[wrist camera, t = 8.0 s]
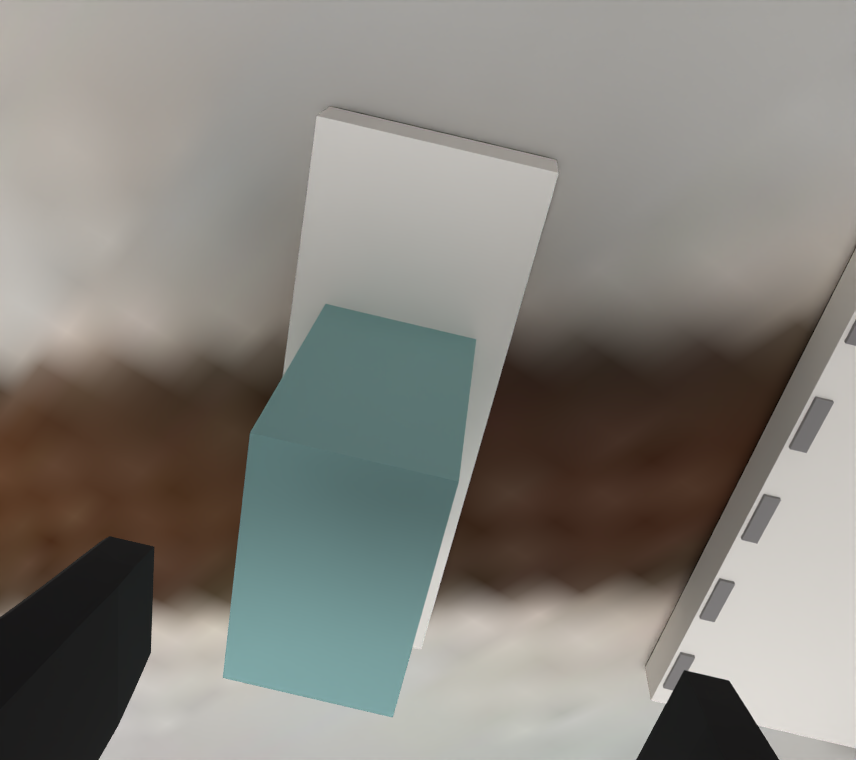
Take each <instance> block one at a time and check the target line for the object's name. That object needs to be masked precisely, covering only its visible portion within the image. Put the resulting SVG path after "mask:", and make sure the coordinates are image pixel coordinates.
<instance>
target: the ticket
mask: <svg viewBox="0 0 856 760" xmlns="http://www.w3.org/2000/svg"><path fill="white" fill-rule="evenodd" d="M645 670H646V675H647V681H648V687H649V692H650V698H651V701H655V702H660V703H664V704H666V703H667V701H668V699H669V697H670V695H671V694H672V692H673V690H674V688H675V686H676V684H677V682H678V680H679V679H680V677H681V675H682V673H683V671H684V670H686V671H690V672H695V673H699V674H703V675H708V676H712V677H716V678H721V679H725V680H729V681H730V683H731V684H732V686H733V687H734V689H735V690H736V692H737V693H738V695H739V697H740V698H741V700H742V701H743V703H744V704H745V706H746V708H747V709H748V711H749V712H750V714H751V716H752V717H753V719H754V720H755V722H756V724H757V725H758V726H762V727H767V728H771V729H775V730H779V731H784V732H788V733H792V734H796V735H801V736H805V737H809V738H814V739H818V740H822V741H826V742H831V743H835V744H839V745H844V746H848V747H852V748H856V249H855V251H854V253H853V255H852V257H851V259H850V261H849V263H848V265H847V267H846V269H845V271H844V273H843V275H842V277H841V279H840V281H839V283H838V285H837V287H836V289H835V291H834V293H833V295H832V297H831V299H830V301H829V303H828V305H827V307H826V309H825V311H824V313H823V315H822V317H821V319H820V320H819V322H818V324H817V326H816V328H815V330H814V332H813V334H812V336H811V338H810V340H809V342H808V344H807V346H806V348H805V350H804V352H803V354H802V356H801V358H800V360H799V362H798V364H797V366H796V368H795V370H794V372H793V374H792V376H791V378H790V380H789V382H788V384H787V386H786V388H785V390H784V392H783V394H782V396H781V398H780V400H779V402H778V404H777V406H776V408H775V410H774V412H773V414H772V416H771V418H770V420H769V422H768V424H767V426H766V428H765V430H764V432H763V434H762V436H761V438H760V440H759V442H758V444H757V446H756V448H755V450H754V452H753V454H752V456H751V458H750V460H749V462H748V464H747V466H746V468H745V470H744V472H743V474H742V476H741V478H740V480H739V482H738V484H737V486H736V488H735V490H734V492H733V494H732V496H731V498H730V500H729V502H728V504H727V506H726V508H725V510H724V512H723V514H722V516H721V518H720V520H719V522H718V524H717V525H716V527H715V529H714V531H713V533H712V535H711V537H710V539H709V541H708V543H707V545H706V547H705V549H704V551H703V553H702V555H701V557H700V559H699V561H698V563H697V565H696V567H695V569H694V571H693V573H692V575H691V577H690V579H689V581H688V583H687V585H686V587H685V589H684V591H683V593H682V595H681V597H680V599H679V601H678V603H677V605H676V607H675V609H674V611H673V613H672V615H671V617H670V619H669V621H668V623H667V625H666V627H665V629H664V631H663V633H662V635H661V637H660V639H659V641H658V643H657V645H656V647H655V649H654V651H653V653H652V655H651V657H650V659H649V661H648V663H647V665H646V667H645Z"/></svg>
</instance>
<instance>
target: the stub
mask: <svg viewBox="0 0 856 760" xmlns="http://www.w3.org/2000/svg"><path fill="white" fill-rule="evenodd" d="M558 174H559V171H558V165H557V160H555V159H550V158H546V157H542V156H538V155H533V154H529V153H525V152H521V151H516V150H512V149H508V148H504V147H500V146H495V145H491V144H487V143H483V142H478V141H474V140H470V139H466V138H461V137H457V136H453V135H449V134H445V133H440V132H436V131H432V130H428V129H423V128H419V127H415V126H411V125H406V124H402V123H398V122H394V121H390V120H385V119H381V118H377V117H373V116H368V115H364V114H360V113H356V112H351V111H347V110H343V109H339V108H334V107H328V108H327V109H325V110H324V111H323V112H321V113H320V114H318V115H317V117H316V125H315V132H314V140H313V148H312V155H311V163H310V171H309V178H308V186H307V194H306V201H305V209H304V217H303V224H302V232H301V240H300V247H299V255H298V263H297V270H296V278H295V286H294V293H293V301H292V309H291V316H290V324H289V332H288V340H287V347H286V355H285V363H284V370H283V377H282V379H281V381H280V382H279V384H278V386H277V388H276V389H275V391H274V393H273V394H272V396H271V398H270V400H269V401H268V403H267V405H266V406H265V408H264V410H263V412H262V413H261V415H260V417H259V418H258V420H257V422H256V423H255V425H254V427H253V429H252V430H251V432H250V438H249V447H248V456H247V465H246V474H245V483H244V492H243V501H242V510H241V519H240V528H239V537H238V546H237V555H236V564H235V573H234V582H233V591H232V600H231V609H230V618H229V627H228V636H227V645H226V654H225V663H224V672H223V678H226V679H230V680H235V681H239V682H243V683H247V684H252V685H256V686H260V687H265V688H269V689H273V690H277V691H282V692H286V693H290V694H295V695H299V696H303V697H307V698H312V699H316V700H320V701H325V702H329V703H333V704H337V705H342V706H346V707H350V708H355V709H359V710H363V711H367V712H372V713H376V714H380V715H385V716H389V717H393V714H394V711H395V707H396V704H397V700H398V697H399V693H400V690H401V686H402V682H403V679H404V675H405V672H406V668H407V665H408V661H409V658H410V654H411V650H412V648H417V649H421V648H422V645H423V641H424V638H425V634H426V631H427V627H428V624H429V620H430V617H431V613H432V610H433V606H434V603H435V600H436V596H437V593H438V589H439V586H440V582H441V579H442V575H443V572H444V568H445V565H446V562H447V558H448V555H449V551H450V548H451V544H452V541H453V537H454V534H455V530H456V527H457V524H458V520H459V517H460V513H461V510H462V506H463V503H464V499H465V496H466V492H467V489H468V486H469V482H470V479H471V475H472V472H473V468H474V465H475V461H476V458H477V454H478V451H479V448H480V444H481V441H482V437H483V434H484V430H485V427H486V423H487V420H488V416H489V413H490V409H491V406H492V403H493V399H494V396H495V392H496V389H497V385H498V382H499V378H500V375H501V371H502V368H503V365H504V361H505V358H506V354H507V351H508V347H509V344H510V340H511V337H512V333H513V330H514V327H515V323H516V320H517V316H518V313H519V309H520V306H521V302H522V299H523V295H524V292H525V289H526V285H527V282H528V278H529V275H530V271H531V268H532V264H533V261H534V257H535V254H536V250H537V247H538V244H539V240H540V237H541V233H542V230H543V226H544V223H545V219H546V216H547V212H548V209H549V206H550V202H551V199H552V195H553V192H554V188H555V185H556V181H557V178H558Z"/></svg>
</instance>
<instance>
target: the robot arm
mask: <svg viewBox="0 0 856 760" xmlns="http://www.w3.org/2000/svg"><path fill="white" fill-rule="evenodd" d="M153 570H154V547H153V546H149V545H145V544H140V543H136V542H132V541H128V540H123V539H119V538H115V537H108V538H106V539H104V540H102V541H101V542H100V543H98V544H97V545H96V546H94V547H93V548H92V549H90V550H89V551H88V552H86V553H85V554H84V555H83V556H81V557H80V558H79V559H77V560H76V561H75V562H73V563H72V564H71V565H70V566H68V567H67V568H66V569H64V570H63V571H62V572H60V573H59V574H58V575H56V576H55V577H54V578H52V579H51V580H50V581H49V582H47V583H46V584H45V585H43V586H42V587H41V588H39V589H38V590H37V591H35V592H34V593H32V594H31V595H30V596H28V597H27V598H26V599H24V600H23V601H22V602H20V603H19V604H18V605H16V606H15V607H14V608H12V609H11V610H9V611H8V612H7V613H5V614H4V615H2V616H1V617H0V760H99V758H100V756H101V754H102V753H103V751H104V749H105V748H106V746H107V744H108V742H109V741H110V739H111V737H112V735H113V734H114V732H115V730H116V728H117V727H118V725H119V722H120V720H121V718H122V716H123V714H124V712H125V709H126V707H127V705H128V703H129V701H130V699H131V696H132V694H133V692H134V690H135V687H136V685H137V683H138V681H139V678H140V676H141V674H142V672H143V669H144V667H145V665H146V662H147V660H148V658H149V656H150V653H151V630H152V600H153ZM636 760H779V759H778V757H777V756H776V754H775V753H774V751H773V749H772V748H771V746H770V745H769V743H768V741H767V740H766V738H765V737H764V735H763V733H762V732H761V730H760V729H759V727H758V725H757V724H756V722H755V720H754V719H753V717H752V716H751V714H750V712H749V711H748V709H747V708H746V706H745V704H744V703H743V701H742V700H741V698H740V697H739V695H738V693H737V692H736V690H735V689H734V687H733V686H732V684H731V683H730V681H729V680H725V679H721V678H716V677H712V676H708V675H703V674H699V673H695V672H690V671H686V670H684V671H683V673H682V675H681V677H680V679H679V680H678V682H677V684H676V686H675V688H674V690H673V692H672V694H671V695H670V697H669V699H668V701H667V703H666V705H665V707H664V709H663V711H662V712H661V714H660V716H659V718H658V720H657V722H656V724H655V726H654V727H653V729H652V731H651V733H650V735H649V737H648V739H647V741H646V743H645V744H644V746H643V748H642V750H641V752H640V754H639V756H638V758H637V759H636Z"/></svg>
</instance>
